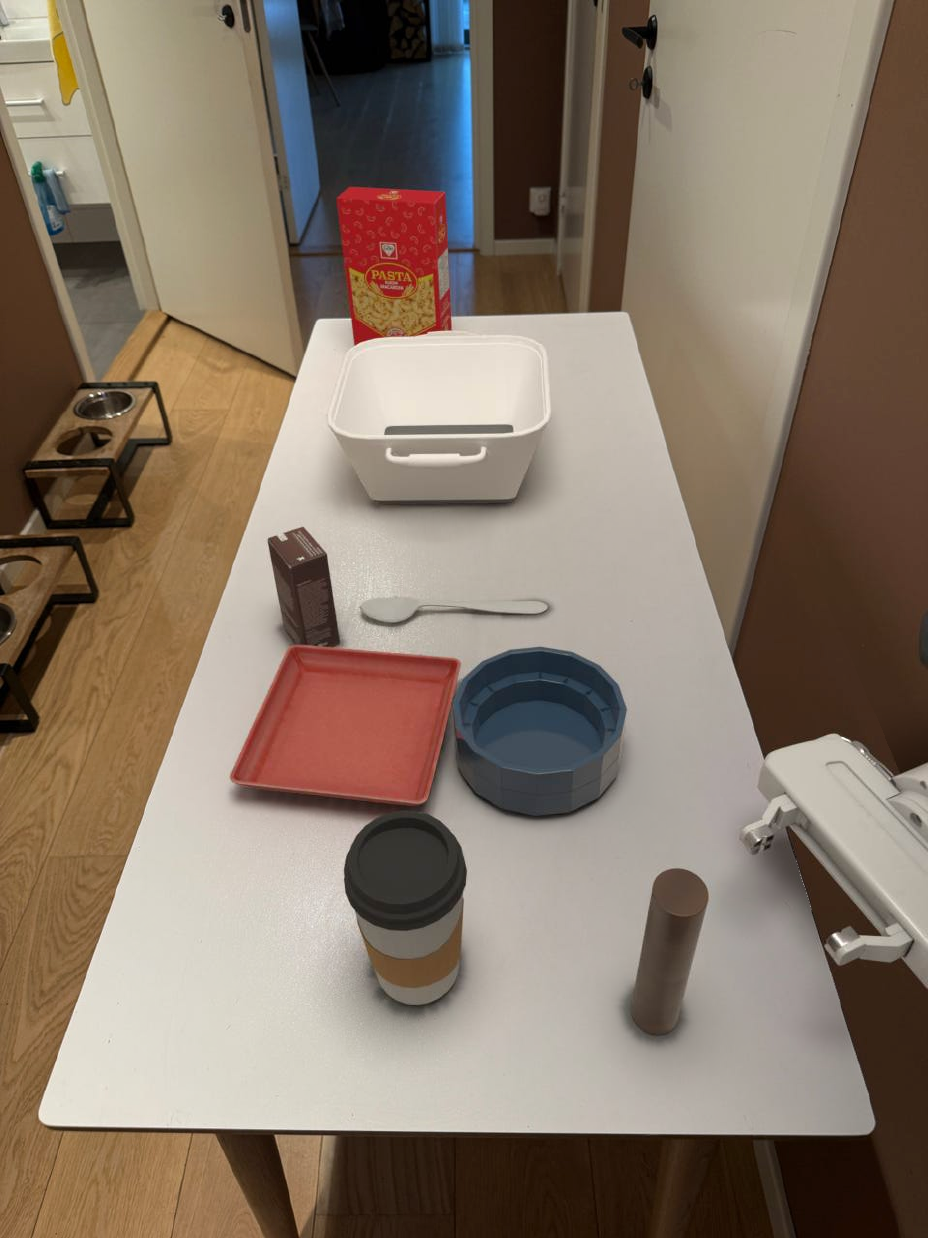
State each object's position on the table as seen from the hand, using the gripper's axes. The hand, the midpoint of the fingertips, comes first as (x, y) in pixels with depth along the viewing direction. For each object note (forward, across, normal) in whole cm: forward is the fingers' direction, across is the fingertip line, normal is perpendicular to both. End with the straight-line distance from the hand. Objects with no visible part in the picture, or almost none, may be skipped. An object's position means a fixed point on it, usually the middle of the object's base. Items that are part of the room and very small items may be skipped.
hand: (787, 894), depth 64 cm
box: (+21, -51, +9) cm, 56 cm away
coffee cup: (+24, -10, +9) cm, 28 cm away
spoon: (+6, -48, +9) cm, 49 cm away
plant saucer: (+21, -35, +9) cm, 42 cm away
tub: (-5, -75, +9) cm, 76 cm away
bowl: (+6, -26, +9) cm, 28 cm away
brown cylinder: (+10, 0, +9) cm, 13 cm away
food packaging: (-12, -109, +9) cm, 110 cm away
